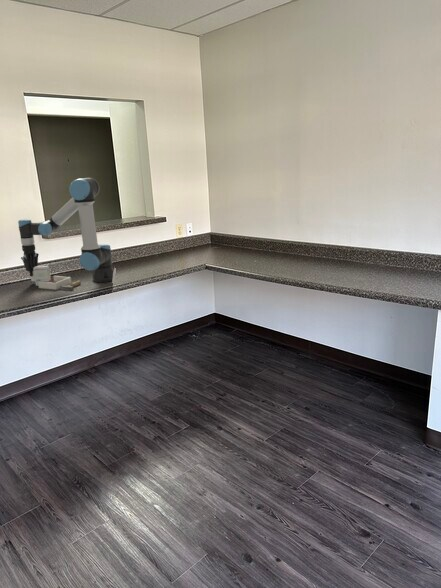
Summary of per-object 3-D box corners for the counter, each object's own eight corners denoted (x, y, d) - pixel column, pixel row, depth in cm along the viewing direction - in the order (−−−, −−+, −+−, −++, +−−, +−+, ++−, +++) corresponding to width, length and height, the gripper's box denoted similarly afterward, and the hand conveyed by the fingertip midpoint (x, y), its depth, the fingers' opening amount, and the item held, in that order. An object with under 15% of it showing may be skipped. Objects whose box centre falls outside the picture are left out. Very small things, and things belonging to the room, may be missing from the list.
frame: (71, 283, 283) (71, 277, 282) (56, 289, 270) (55, 283, 269) (55, 281, 287) (54, 275, 286) (38, 287, 274) (38, 281, 273)
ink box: (51, 283, 284) (49, 265, 281) (49, 285, 280) (47, 267, 276) (38, 283, 284) (35, 265, 280) (35, 285, 279) (33, 267, 276)
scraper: (74, 283, 282) (73, 280, 281) (84, 284, 279) (84, 281, 278) (60, 289, 270) (60, 285, 270) (71, 290, 268) (70, 286, 267)
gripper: (31, 242, 284) (36, 277, 291) (15, 246, 272) (21, 283, 279) (40, 242, 281) (45, 278, 288) (25, 246, 270) (31, 283, 277)
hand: (33, 280), depth 284 cm, fingers closed
